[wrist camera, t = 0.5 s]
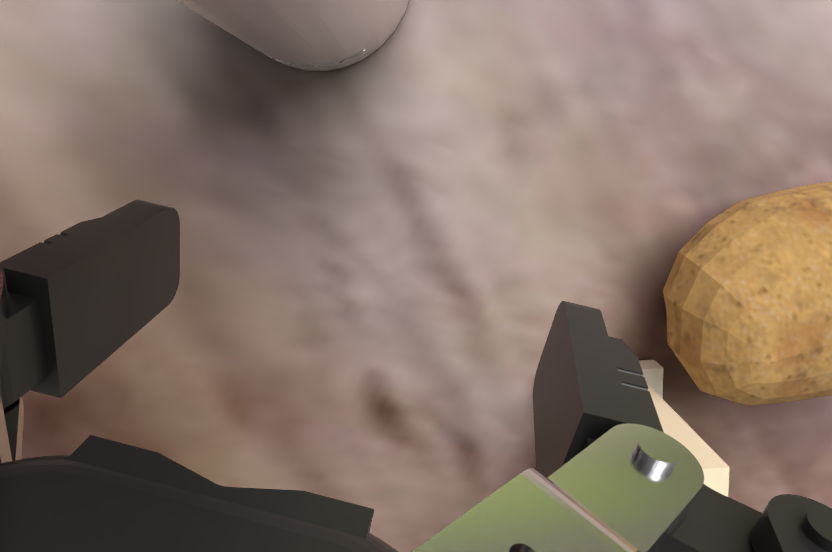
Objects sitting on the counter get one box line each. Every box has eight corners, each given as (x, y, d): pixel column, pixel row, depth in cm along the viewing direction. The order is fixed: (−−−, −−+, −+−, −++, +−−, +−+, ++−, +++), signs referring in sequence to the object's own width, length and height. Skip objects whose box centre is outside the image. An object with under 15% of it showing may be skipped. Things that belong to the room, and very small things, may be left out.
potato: (913, 307, 31) (1083, 363, 23) (655, 395, 32) (735, 477, 24) (878, 129, 29) (1053, 123, 21) (605, 229, 30) (673, 259, 22)
